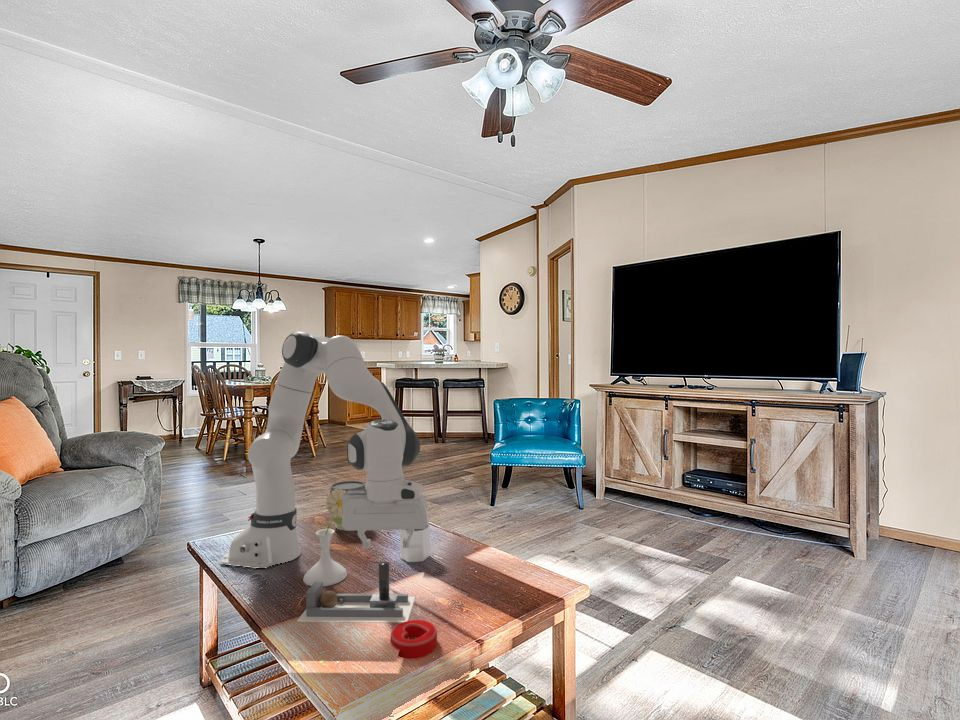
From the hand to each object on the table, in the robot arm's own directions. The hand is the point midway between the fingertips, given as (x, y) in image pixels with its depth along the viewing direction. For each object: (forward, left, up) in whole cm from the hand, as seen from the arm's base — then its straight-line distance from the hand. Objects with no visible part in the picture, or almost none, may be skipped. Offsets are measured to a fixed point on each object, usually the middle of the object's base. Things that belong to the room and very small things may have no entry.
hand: (386, 547), depth 116 cm
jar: (+1, +34, -16) cm, 37 cm away
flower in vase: (-20, +17, -16) cm, 30 cm away
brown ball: (-14, 0, -14) cm, 20 cm away
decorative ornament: (+8, -12, -16) cm, 22 cm away
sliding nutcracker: (-7, 0, -16) cm, 17 cm away
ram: (-1, 0, -14) cm, 14 cm away
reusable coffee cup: (-28, +62, -16) cm, 69 cm away
